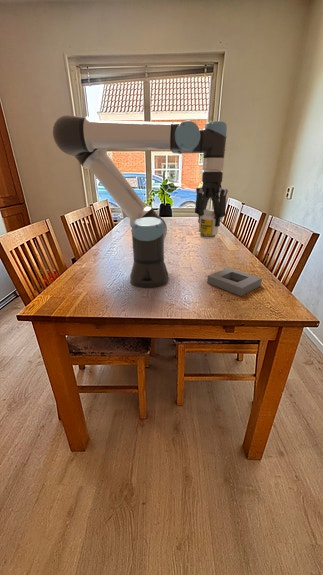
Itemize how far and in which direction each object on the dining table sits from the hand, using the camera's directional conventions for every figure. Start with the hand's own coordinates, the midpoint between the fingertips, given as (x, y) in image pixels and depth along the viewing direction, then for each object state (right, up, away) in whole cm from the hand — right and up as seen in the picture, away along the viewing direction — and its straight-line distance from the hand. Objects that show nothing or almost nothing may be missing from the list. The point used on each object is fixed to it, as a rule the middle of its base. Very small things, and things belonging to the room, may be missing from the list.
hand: (207, 232), depth 102 cm
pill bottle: (0, -2, +1) cm, 2 cm away
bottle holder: (+8, -21, -8) cm, 24 cm away
